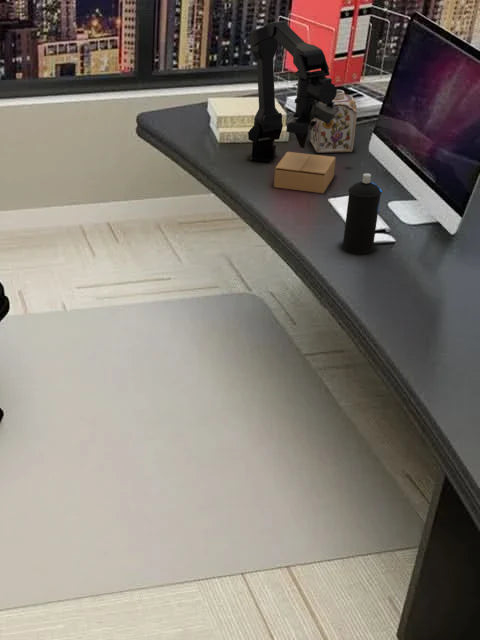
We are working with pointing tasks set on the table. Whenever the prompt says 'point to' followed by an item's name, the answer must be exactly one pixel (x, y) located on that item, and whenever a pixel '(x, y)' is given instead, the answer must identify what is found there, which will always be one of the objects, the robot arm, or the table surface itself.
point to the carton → (308, 175)
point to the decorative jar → (336, 127)
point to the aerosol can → (361, 216)
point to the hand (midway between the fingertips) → (302, 147)
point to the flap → (293, 161)
